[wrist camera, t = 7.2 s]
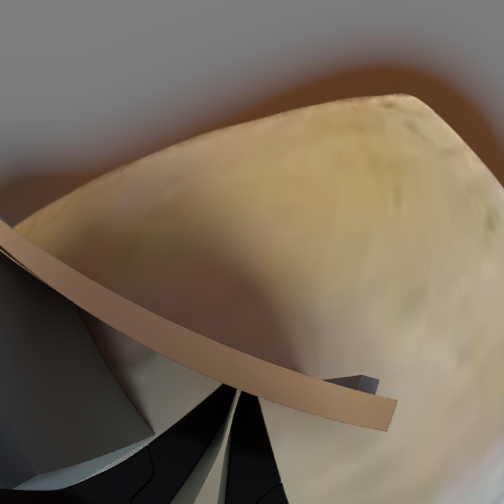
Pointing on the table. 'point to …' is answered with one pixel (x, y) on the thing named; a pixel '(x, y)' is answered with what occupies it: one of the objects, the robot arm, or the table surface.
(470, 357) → the table surface
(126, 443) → the camera case
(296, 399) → the side door
